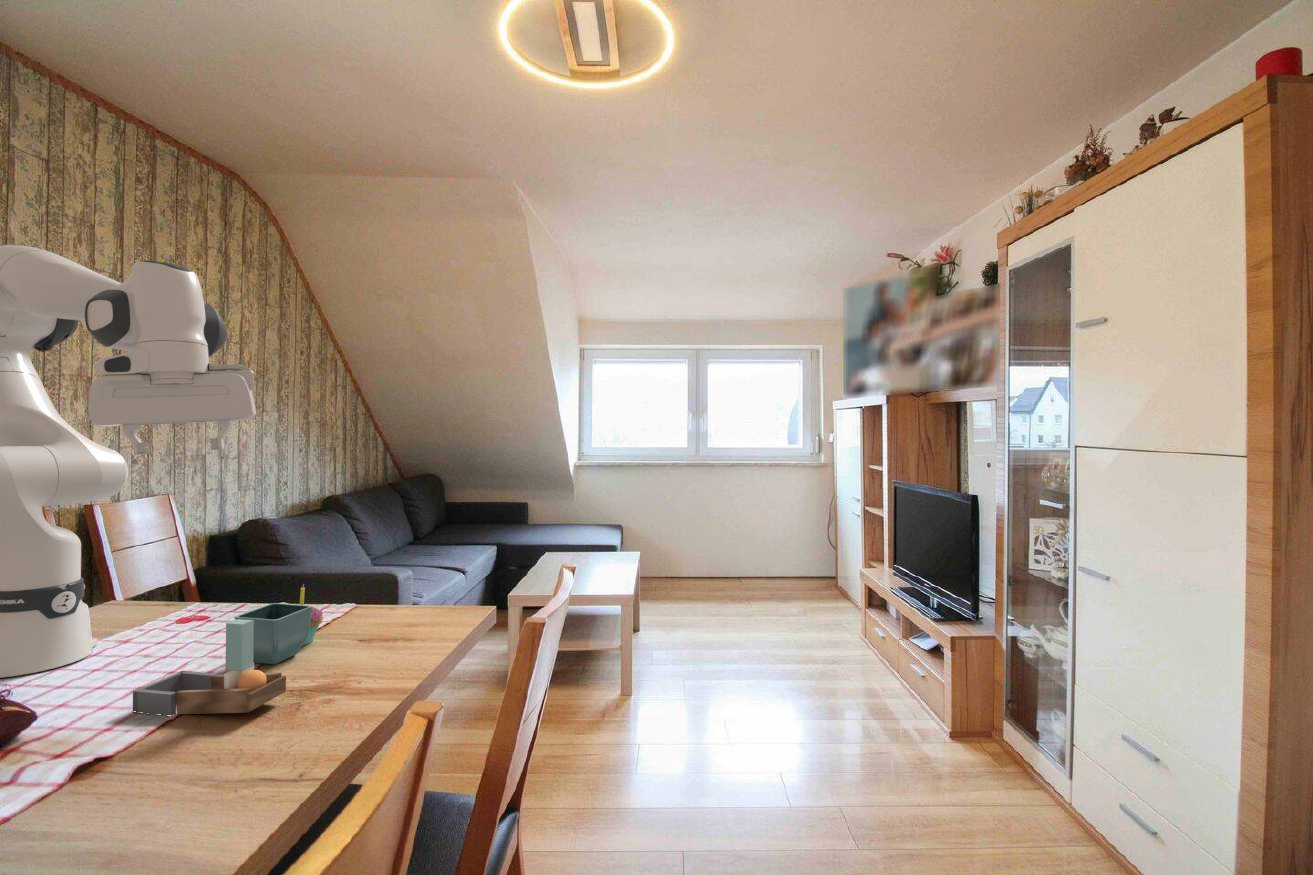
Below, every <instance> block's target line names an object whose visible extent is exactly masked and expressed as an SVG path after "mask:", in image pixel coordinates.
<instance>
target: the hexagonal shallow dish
mask: <svg viewBox="0 0 1313 875" xmlns="http://www.w3.org/2000/svg"><path fill="white" fill-rule="evenodd" d="M263 673H264V674H265V675H266V678H267V681H266V685H264V686H262V687H260V688H258V689H256V690H254V691H252V692H251V689H250V688H242V689H224V674H218V675H213V676H211V687H212V689H210V690H180V691H178V692H175V695H176V714H177V715H195V714H200V715H201V714H202V715H203V714H240V713H241V714H243V713H250V712H252V711H253V710H256V709H257V708H259V707H261V706H262V705H264V704H266V703H268V702H270V701H272V700H273V699H275V698H277V697H279V696H281V695H283V694H284V693H286V692H287V691H286V690H287V675H283V674H282V672H263Z"/></svg>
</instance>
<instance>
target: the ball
mask: <svg viewBox="0 0 1313 875" xmlns="http://www.w3.org/2000/svg"><path fill="white" fill-rule="evenodd" d="M264 673H265V672H263V671H261V670H259V669H254V670H251V671H248V672H246V673H245V674H243V675H242V676H241V678H240V679H239V681H238V685H237V686H238V689H242V688H250V689H251V692H252V691H254V690H256V689H258V688H260V687H262V686H264V685H266V681H267V678H266V675H265V674H264Z"/></svg>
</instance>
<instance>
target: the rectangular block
mask: <svg viewBox="0 0 1313 875" xmlns="http://www.w3.org/2000/svg"><path fill="white" fill-rule="evenodd" d="M253 644H254V620H243V619H237V620H235V619H234V620H232V621H229V622H226V623H225V671H227V672H225V673H224V674H223V675H224V689H238V686H237V685H238V681H239V679H240V678H241V676H242V675H243V674H245V673H246V672H248V671H251V670H255V663H254V662H253Z"/></svg>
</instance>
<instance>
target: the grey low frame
mask: <svg viewBox="0 0 1313 875" xmlns="http://www.w3.org/2000/svg"><path fill="white" fill-rule="evenodd" d="M213 675H219V674H218V673H215V672H214V673H213V672H203V671H202V672H200V671H191V670H190V671H189V670H181V671H178V672H176V673H173V674H171V675H169V676H166V677H164V678H161V679H159V680H157V681H154V682H152V683H149V684H147V685H145V686H144V685H143V686H142V687H139V688H138V689H135V690H133V691H132V712H133V711H136V712H143V713H149V714H148V715H151V714H161V715H173V714H175V715H176V714H177V707H176V695H175V692H178V691H180V690H210V689H212V687H211V676H213ZM161 715H160V716H161ZM173 716H174V715H173Z"/></svg>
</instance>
